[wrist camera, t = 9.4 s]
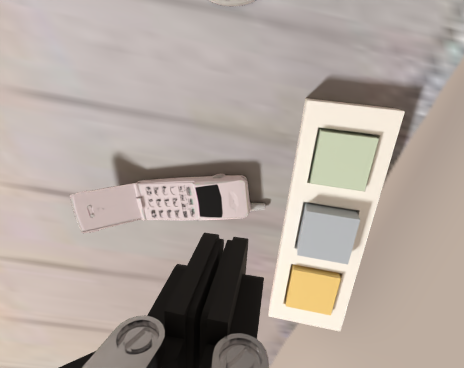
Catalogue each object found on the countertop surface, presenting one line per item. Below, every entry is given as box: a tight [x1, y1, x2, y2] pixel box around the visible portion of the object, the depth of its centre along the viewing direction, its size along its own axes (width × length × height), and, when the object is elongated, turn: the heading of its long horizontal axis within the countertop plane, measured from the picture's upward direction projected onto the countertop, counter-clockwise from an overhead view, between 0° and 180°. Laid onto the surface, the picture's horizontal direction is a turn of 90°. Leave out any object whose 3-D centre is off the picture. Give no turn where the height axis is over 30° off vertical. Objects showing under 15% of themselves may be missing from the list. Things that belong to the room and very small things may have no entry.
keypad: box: [268, 98, 405, 331], centre depth 39 cm, size 30×10×3 cm, turn 174°
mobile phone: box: [70, 173, 265, 233], centre depth 40 cm, size 6×6×25 cm
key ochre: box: [286, 264, 341, 316], centre depth 41 cm, size 6×6×2 cm
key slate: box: [297, 203, 360, 264], centre depth 37 cm, size 6×6×2 cm
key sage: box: [309, 128, 379, 191], centre depth 35 cm, size 6×6×2 cm
